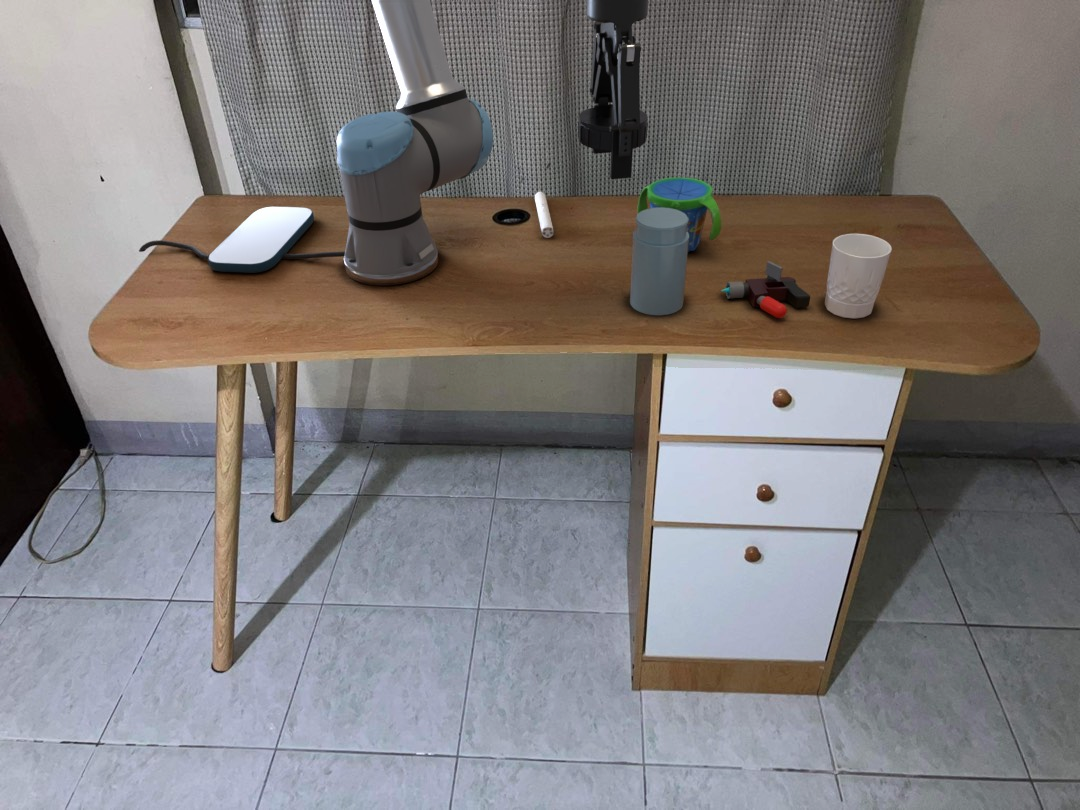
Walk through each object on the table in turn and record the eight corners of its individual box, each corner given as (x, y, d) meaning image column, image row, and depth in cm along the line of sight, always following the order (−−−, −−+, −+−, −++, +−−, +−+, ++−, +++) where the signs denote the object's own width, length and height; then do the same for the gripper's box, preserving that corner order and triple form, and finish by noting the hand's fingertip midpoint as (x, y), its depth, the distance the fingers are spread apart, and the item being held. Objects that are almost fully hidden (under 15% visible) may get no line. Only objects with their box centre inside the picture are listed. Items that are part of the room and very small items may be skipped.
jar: (627, 313, 123) (631, 227, 115) (632, 288, 129) (636, 205, 121) (682, 317, 121) (689, 230, 113) (684, 291, 128) (691, 207, 120)
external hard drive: (269, 276, 135) (266, 265, 134) (203, 273, 137) (199, 262, 136) (320, 217, 154) (318, 207, 153) (261, 215, 156) (259, 205, 155)
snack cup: (621, 240, 143) (623, 183, 137) (664, 223, 148) (667, 167, 142) (688, 271, 133) (694, 211, 127) (732, 251, 138) (739, 193, 132)
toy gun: (717, 292, 127) (720, 264, 124) (793, 287, 128) (798, 259, 125) (734, 324, 119) (738, 295, 116) (815, 319, 120) (821, 289, 117)
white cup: (814, 295, 126) (826, 233, 120) (867, 294, 125) (882, 233, 120) (827, 321, 119) (840, 257, 113) (883, 321, 119) (899, 257, 113)
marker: (533, 198, 159) (533, 186, 158) (544, 198, 159) (544, 186, 158) (541, 238, 145) (541, 225, 143) (553, 237, 145) (553, 225, 143)
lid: (620, 124, 117) (621, 101, 115) (659, 142, 110) (661, 119, 109) (565, 135, 113) (565, 112, 111) (603, 155, 107) (604, 131, 105)
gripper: (568, -31, 108) (567, 140, 122) (610, 2, 91) (604, 197, 105) (624, -34, 110) (617, 136, 123) (676, -1, 92) (661, 192, 106)
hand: (611, 164), depth 114 cm, fingers closed on lid, 9 cm apart
